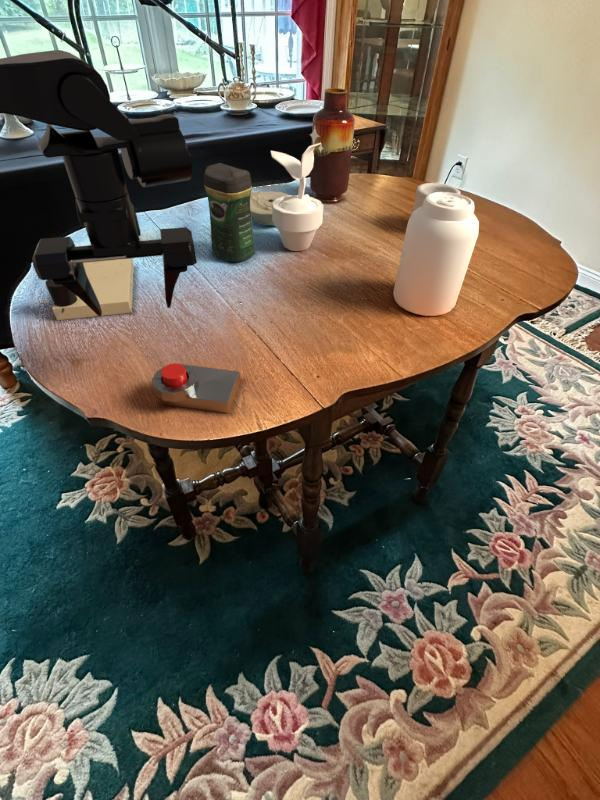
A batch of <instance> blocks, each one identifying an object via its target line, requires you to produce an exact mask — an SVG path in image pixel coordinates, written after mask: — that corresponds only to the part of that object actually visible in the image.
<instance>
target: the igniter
mask: <svg viewBox="0 0 600 800" xmlns="http://www.w3.org/2000/svg"><path fill="white" fill-rule="evenodd" d="M180 364H181V365H183V366H184V367H185V369H186V374H187V381H186V383H185V384H183V385H182V386H178V387H174V388H173V387H168V386H166V385H165V384H164V382H163V378H162V375H161V371H162V369H163V368H164V367H162V368H160V369H158V370H157V371H155V373H154V375H153V377H152V379H151V381H152V386H153V390H154V393H155V396H156V397H158V398H159V399H161V400H162V404H163V405H166V406H167V405H168V406H173V407H181V408H190V409H195V410H196V409H197V410H203V411H210V412H217V413H225V414H229V413H230V411H231V408H232V406H233V403H234V401H235V397H236V395H237V393H238V390H239V388H240V385H241V372H240V371H237V370H230V369H224V368H223V369H222V368H215V367H207V366H199V365H192V364H191V365H190V364H184V363H180Z"/></svg>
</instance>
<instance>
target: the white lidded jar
mask: <svg viewBox="0 0 600 800" xmlns="http://www.w3.org/2000/svg"><path fill="white" fill-rule="evenodd" d="M412 211H413V210H412ZM479 227H480V220H478V217H477V216H476V215H475V202H474V200H472V199H471V198H470V197H468V196H467V195H463V194H457V193H452V192H435V193H431V194H429V195H427V196H426V198H425V199H424V202H423V205H422V206H421V207H419V208H418V209H416V210H415V211H413V213H412V212H411V215H410V217H409V219H408V222H407V225H406V229H405V233H404V234H405V235H404V239H403V244H402V249H401V254H400V259H399V263H398V268H397V272H396V278H395V283H394V288H393V291H392V292H393V293H392V294H393V298H394V301H395V303H396V304H397V305H398V306H399V307H400V308H402V309H404V310H405V311H407V312H410V313H413V314H414V315H415V314H416V315H421V316H425V317H429V316H430V317H436V316H442V315H443V316H444V315H445V314H447V313H449V312H451V311H452V310H453V308H454V307H455V306H456V305H457V301H458V299H459V295H460V292H461V288H462V286H463V282H464V280H465V277H466V273H467V271H468V268H469V266H470V265H469V264H470V262H471V258H472V255H473V252H474V249H475V246H476V243H477V240H478V237H479V231H480V230H479V229H480V228H479Z"/></svg>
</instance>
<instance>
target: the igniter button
mask: <svg viewBox="0 0 600 800" xmlns="http://www.w3.org/2000/svg"><path fill="white" fill-rule="evenodd" d="M181 364H182V363H170V364H167V365H165V366H164V367H162V368H163V369H162V368H161V369H162V371H161V375H162V378H163V382H164V384H165V386H168V387H173V388H174V387H178V386H182V385H183V384H185V383H186V381H187V374H186V369H185V367H184V366H183V365H181Z"/></svg>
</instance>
